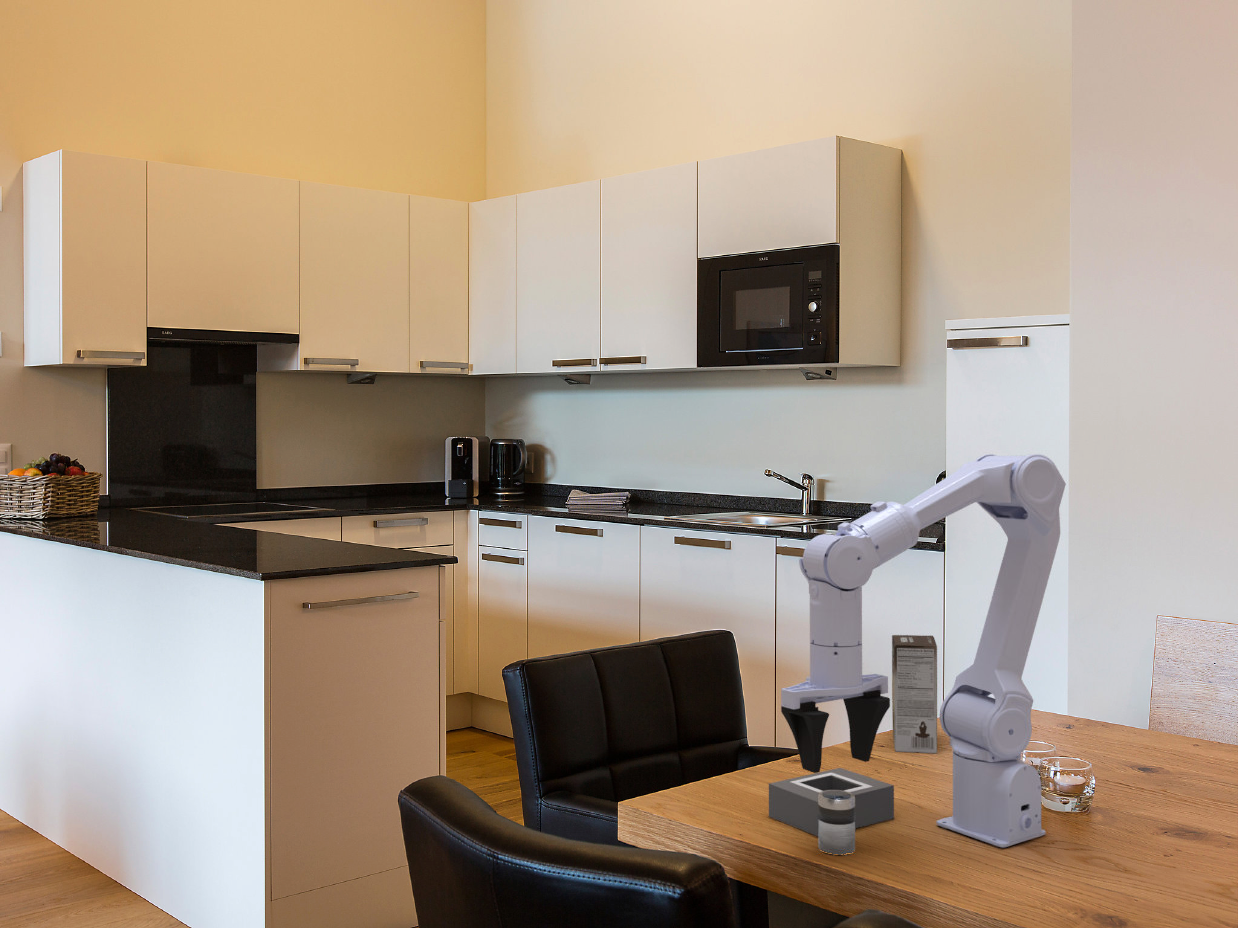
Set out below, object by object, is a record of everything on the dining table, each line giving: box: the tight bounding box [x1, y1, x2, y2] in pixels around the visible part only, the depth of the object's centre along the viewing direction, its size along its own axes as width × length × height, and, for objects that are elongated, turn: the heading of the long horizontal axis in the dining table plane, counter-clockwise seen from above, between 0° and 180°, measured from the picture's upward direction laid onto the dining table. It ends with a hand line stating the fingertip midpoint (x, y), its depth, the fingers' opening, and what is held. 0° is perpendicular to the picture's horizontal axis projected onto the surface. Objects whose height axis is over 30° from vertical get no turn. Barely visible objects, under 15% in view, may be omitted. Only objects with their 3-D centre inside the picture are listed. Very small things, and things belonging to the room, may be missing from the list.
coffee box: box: [891, 634, 938, 754], centre depth 164 cm, size 9×6×16 cm
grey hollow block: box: [768, 767, 895, 837], centre depth 131 cm, size 9×12×4 cm
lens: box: [817, 790, 856, 855], centre depth 120 cm, size 4×4×6 cm
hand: (836, 764), depth 120 cm, fingers open, 7 cm apart
